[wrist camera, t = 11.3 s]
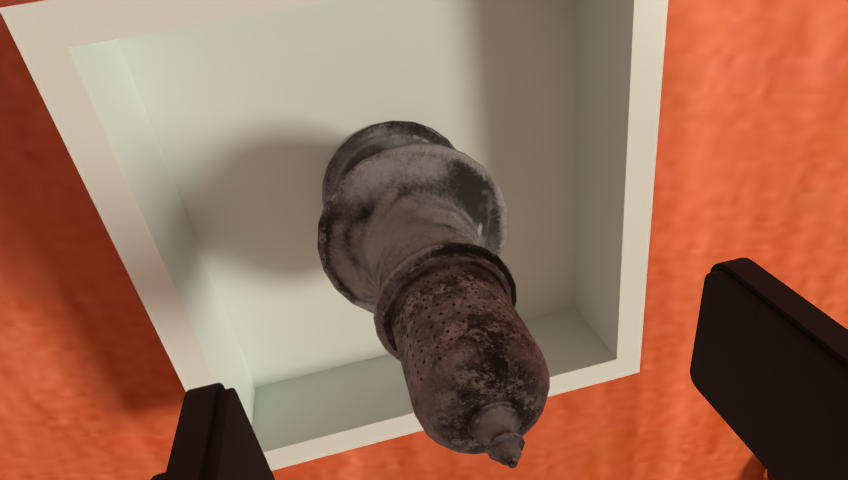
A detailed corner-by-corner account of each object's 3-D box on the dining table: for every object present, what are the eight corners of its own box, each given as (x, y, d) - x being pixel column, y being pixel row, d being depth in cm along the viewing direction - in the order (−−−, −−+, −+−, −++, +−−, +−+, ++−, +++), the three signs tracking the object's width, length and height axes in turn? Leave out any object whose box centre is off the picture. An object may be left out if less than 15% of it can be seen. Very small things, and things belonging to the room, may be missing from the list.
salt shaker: (301, 255, 20) (311, 585, 10) (328, 95, 17) (381, 306, 7) (451, 271, 22) (598, 567, 11) (495, 129, 19) (732, 337, 9)
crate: (72, -7, 16) (-2, 8, 12) (591, -91, 17) (675, -102, 14) (240, 393, 24) (229, 481, 20) (586, 307, 25) (639, 372, 21)
